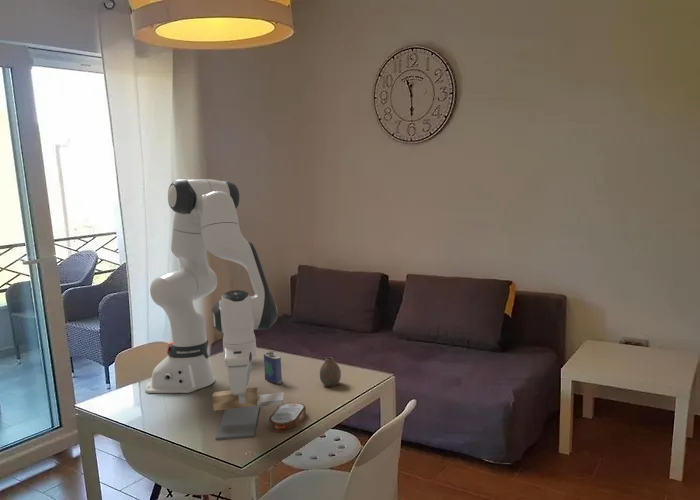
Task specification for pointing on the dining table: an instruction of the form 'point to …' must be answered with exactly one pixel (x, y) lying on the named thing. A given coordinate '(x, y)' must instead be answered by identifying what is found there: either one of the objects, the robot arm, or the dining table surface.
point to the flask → (272, 368)
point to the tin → (287, 417)
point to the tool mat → (238, 423)
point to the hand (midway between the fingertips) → (243, 399)
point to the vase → (330, 373)
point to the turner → (252, 399)
